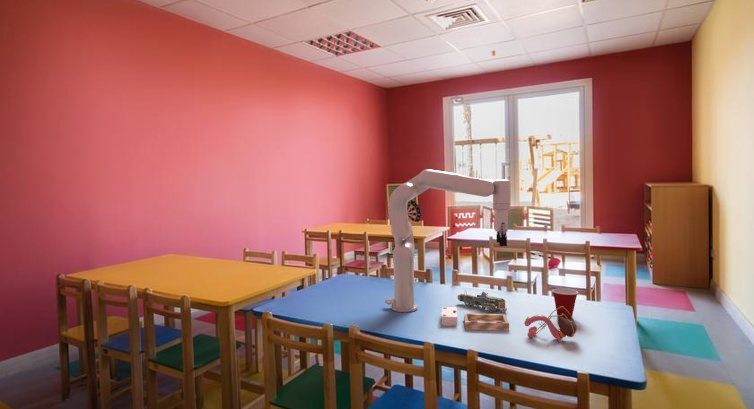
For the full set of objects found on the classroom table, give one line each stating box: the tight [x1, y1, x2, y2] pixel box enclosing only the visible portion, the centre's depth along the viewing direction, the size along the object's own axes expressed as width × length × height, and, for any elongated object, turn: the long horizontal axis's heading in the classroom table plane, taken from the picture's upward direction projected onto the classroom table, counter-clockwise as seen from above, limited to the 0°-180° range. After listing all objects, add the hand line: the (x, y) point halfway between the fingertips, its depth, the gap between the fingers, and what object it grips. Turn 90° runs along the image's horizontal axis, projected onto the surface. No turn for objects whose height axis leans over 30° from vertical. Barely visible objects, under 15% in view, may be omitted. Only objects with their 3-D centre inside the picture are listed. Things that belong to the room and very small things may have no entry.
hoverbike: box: [457, 290, 508, 314], centre depth 202 cm, size 10×25×8 cm, turn 50°
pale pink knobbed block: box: [441, 306, 458, 326], centre depth 187 cm, size 13×6×4 cm, turn 170°
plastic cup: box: [551, 288, 579, 320], centre depth 187 cm, size 11×11×12 cm
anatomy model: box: [524, 306, 578, 344], centre depth 164 cm, size 11×15×17 cm
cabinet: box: [463, 312, 510, 331], centre depth 180 cm, size 17×11×3 cm, turn 81°
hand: (501, 244), depth 195 cm, fingers open, 9 cm apart
